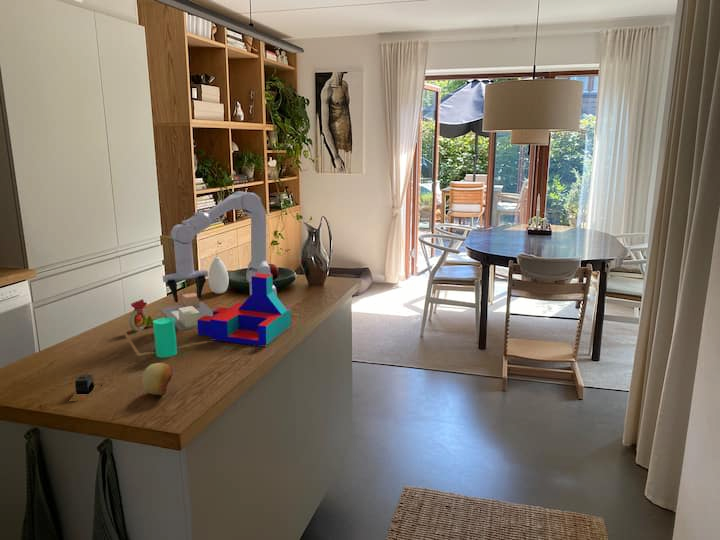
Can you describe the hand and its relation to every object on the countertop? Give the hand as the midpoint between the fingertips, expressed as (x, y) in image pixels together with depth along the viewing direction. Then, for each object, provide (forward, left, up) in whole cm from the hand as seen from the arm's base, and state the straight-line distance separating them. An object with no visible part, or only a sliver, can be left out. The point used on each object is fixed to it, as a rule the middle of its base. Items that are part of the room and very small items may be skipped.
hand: (187, 299), depth 189 cm
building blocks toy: (-13, +18, -9) cm, 24 cm away
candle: (+13, +23, -9) cm, 28 cm away
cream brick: (0, 0, -8) cm, 8 cm away
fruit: (+21, +50, -9) cm, 55 cm away
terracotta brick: (-6, -20, -8) cm, 22 cm away
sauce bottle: (-21, -33, -9) cm, 40 cm away
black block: (+36, +39, -10) cm, 54 cm away
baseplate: (-3, -9, -9) cm, 13 cm away
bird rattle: (+15, -3, -9) cm, 18 cm away
